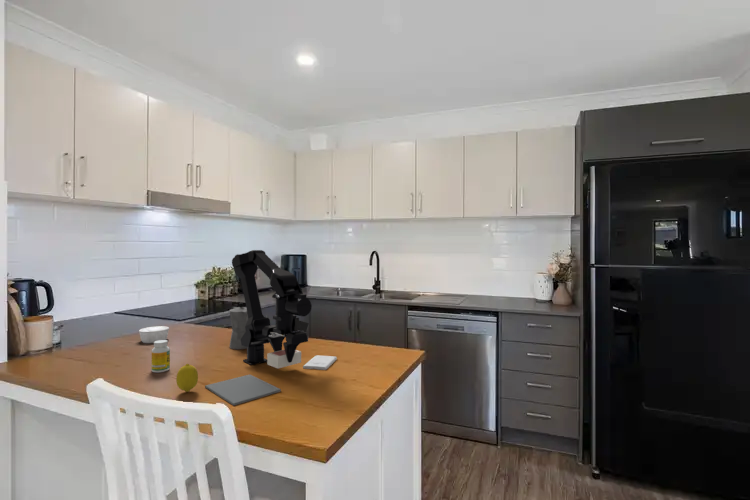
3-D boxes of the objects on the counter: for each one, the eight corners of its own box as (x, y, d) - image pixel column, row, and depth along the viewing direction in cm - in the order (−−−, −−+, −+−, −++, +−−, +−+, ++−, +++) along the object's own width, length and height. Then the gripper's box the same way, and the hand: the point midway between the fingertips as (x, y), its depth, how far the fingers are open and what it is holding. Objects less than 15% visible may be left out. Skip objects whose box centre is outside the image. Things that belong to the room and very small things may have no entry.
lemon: (181, 388, 112) (181, 361, 112) (201, 388, 113) (201, 360, 113) (172, 396, 107) (172, 367, 107) (193, 395, 107) (193, 366, 107)
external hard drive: (336, 360, 142) (325, 371, 130) (315, 359, 144) (302, 369, 132) (336, 356, 142) (325, 366, 130) (315, 355, 144) (302, 365, 132)
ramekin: (132, 343, 163) (132, 330, 163) (152, 337, 174) (152, 325, 174) (156, 344, 162) (156, 332, 161) (174, 338, 173) (174, 326, 173)
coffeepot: (259, 347, 158) (259, 303, 157) (236, 352, 151) (237, 305, 151) (242, 340, 169) (242, 299, 169) (220, 344, 162) (220, 301, 162)
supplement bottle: (152, 369, 130) (152, 340, 130) (170, 366, 132) (170, 338, 132) (150, 373, 125) (150, 344, 125) (169, 371, 127) (169, 342, 127)
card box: (267, 364, 126) (267, 353, 126) (290, 358, 133) (290, 347, 133) (277, 368, 122) (277, 356, 122) (301, 362, 129) (301, 351, 129)
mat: (205, 387, 113) (205, 385, 113) (249, 376, 123) (249, 374, 123) (233, 405, 101) (233, 403, 101) (280, 391, 111) (280, 389, 111)
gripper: (321, 313, 127) (321, 361, 127) (289, 306, 140) (289, 350, 140) (292, 317, 119) (292, 368, 119) (261, 310, 132) (261, 356, 132)
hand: (284, 360), depth 128 cm, fingers closed on card box, 6 cm apart
